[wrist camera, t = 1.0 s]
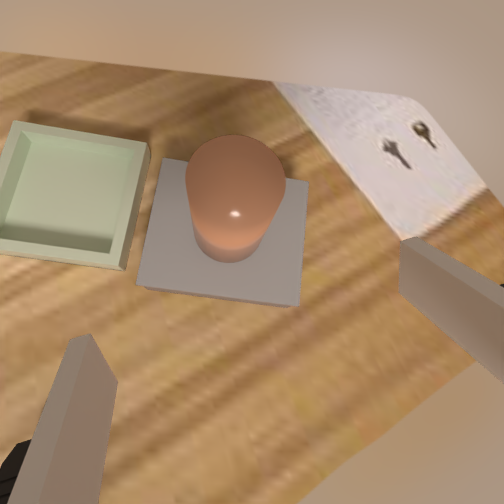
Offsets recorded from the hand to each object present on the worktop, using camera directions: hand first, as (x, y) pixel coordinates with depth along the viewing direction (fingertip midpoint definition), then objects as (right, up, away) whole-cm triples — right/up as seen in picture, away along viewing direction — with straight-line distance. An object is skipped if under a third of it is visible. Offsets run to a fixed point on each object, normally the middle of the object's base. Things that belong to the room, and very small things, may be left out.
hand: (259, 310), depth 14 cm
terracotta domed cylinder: (-3, +5, +17) cm, 17 cm away
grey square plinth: (-3, +3, +21) cm, 21 cm away
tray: (-19, +8, +20) cm, 28 cm away
